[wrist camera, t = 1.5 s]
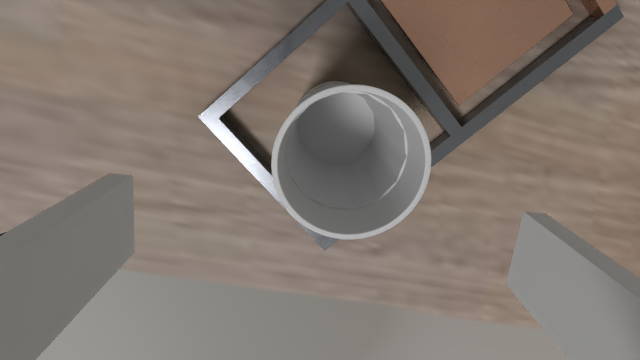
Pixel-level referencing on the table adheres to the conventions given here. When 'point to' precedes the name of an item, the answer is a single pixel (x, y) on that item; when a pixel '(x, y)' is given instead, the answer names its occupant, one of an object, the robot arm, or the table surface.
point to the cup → (350, 160)
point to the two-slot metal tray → (436, 61)
